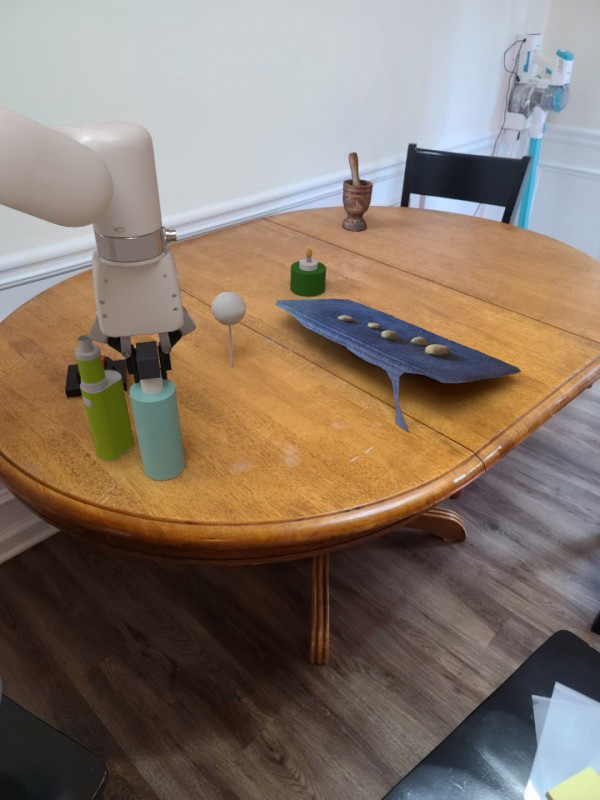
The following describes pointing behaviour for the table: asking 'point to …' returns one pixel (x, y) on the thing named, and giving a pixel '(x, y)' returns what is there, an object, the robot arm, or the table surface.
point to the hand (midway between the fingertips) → (150, 374)
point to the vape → (103, 403)
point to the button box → (75, 379)
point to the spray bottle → (156, 417)
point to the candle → (308, 277)
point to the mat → (394, 344)
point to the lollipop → (229, 312)
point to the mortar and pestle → (356, 197)
